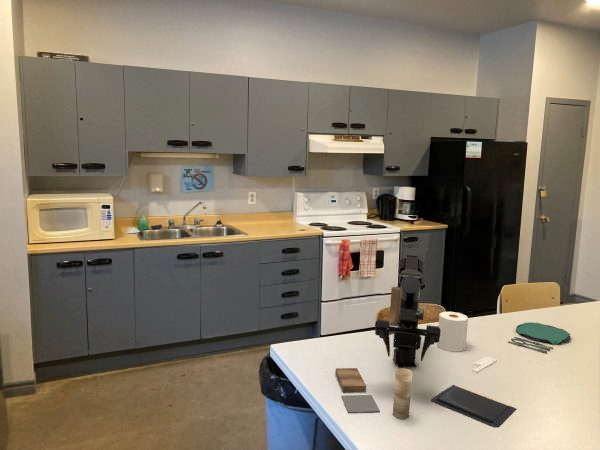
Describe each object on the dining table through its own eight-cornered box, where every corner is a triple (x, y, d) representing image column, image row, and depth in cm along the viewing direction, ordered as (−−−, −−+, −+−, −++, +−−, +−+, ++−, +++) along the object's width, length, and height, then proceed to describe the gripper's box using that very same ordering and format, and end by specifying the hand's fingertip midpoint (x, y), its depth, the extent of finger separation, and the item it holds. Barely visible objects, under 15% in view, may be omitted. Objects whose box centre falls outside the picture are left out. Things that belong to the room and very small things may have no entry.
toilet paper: (462, 354, 176) (465, 322, 174) (433, 347, 181) (436, 316, 179) (467, 345, 185) (470, 314, 183) (440, 339, 190) (442, 309, 188)
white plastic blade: (462, 369, 165) (463, 365, 165) (483, 357, 175) (484, 354, 175) (476, 374, 161) (477, 370, 161) (497, 362, 171) (497, 359, 171)
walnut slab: (335, 374, 156) (335, 368, 156) (356, 373, 157) (356, 368, 157) (343, 392, 144) (343, 386, 144) (365, 392, 145) (366, 385, 145)
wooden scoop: (386, 334, 192) (389, 291, 189) (379, 331, 196) (382, 288, 193) (404, 331, 197) (407, 288, 194) (396, 327, 200) (399, 285, 198)
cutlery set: (576, 336, 198) (577, 331, 198) (551, 357, 178) (551, 351, 177) (526, 323, 212) (527, 318, 212) (497, 342, 191) (498, 336, 191)
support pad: (371, 396, 143) (371, 394, 143) (379, 412, 134) (380, 410, 134) (341, 396, 142) (341, 395, 142) (348, 413, 133) (348, 411, 133)
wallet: (429, 396, 142) (454, 380, 152) (428, 402, 142) (453, 386, 152) (496, 425, 128) (519, 405, 138) (495, 431, 128) (518, 411, 139)
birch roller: (405, 410, 136) (409, 368, 134) (411, 418, 131) (414, 375, 130) (390, 410, 135) (393, 368, 133) (395, 419, 131) (398, 375, 129)
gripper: (377, 293, 144) (371, 342, 135) (442, 300, 139) (441, 351, 130) (378, 310, 152) (372, 358, 143) (439, 317, 148) (437, 366, 139)
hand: (405, 358), depth 139 cm, fingers open, 9 cm apart
